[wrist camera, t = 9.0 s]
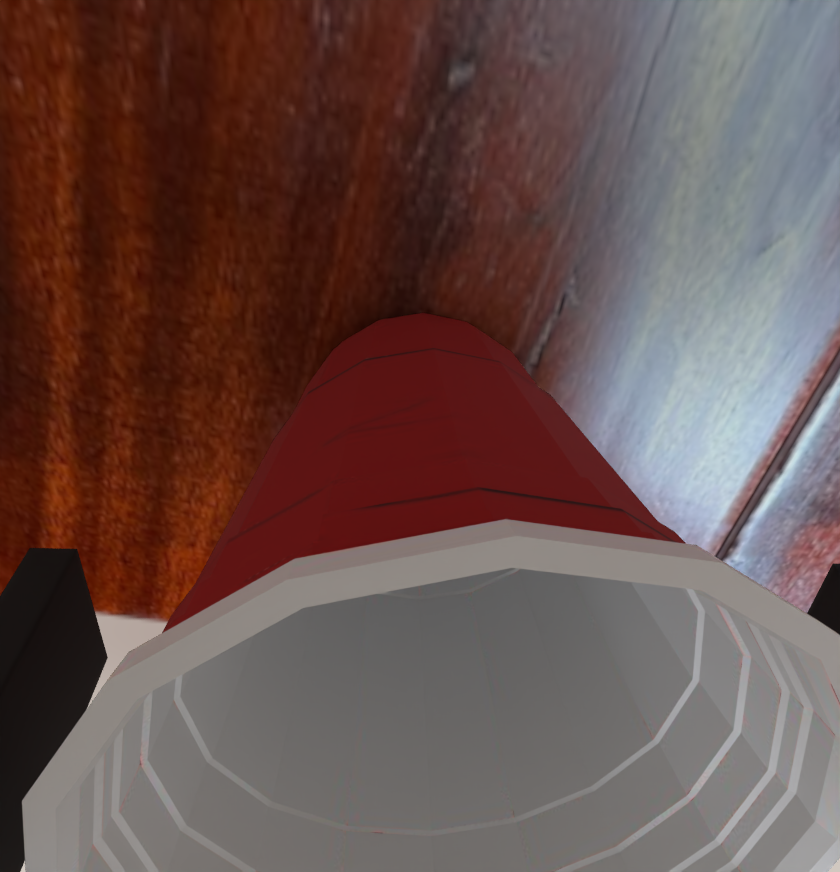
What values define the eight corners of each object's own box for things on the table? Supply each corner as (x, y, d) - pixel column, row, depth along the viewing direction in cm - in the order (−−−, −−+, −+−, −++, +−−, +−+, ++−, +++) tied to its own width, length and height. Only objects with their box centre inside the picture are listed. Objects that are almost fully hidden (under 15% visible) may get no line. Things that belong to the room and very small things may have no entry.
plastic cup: (706, 410, 19) (1056, 889, 9) (413, 608, 23) (439, 1102, 13) (442, 86, 15) (574, 349, 5) (128, 401, 18) (-176, 925, 8)
